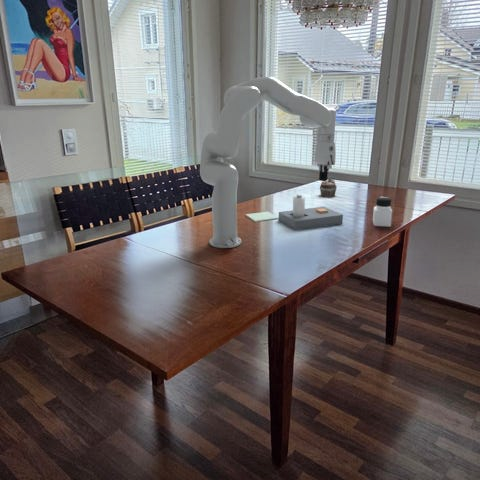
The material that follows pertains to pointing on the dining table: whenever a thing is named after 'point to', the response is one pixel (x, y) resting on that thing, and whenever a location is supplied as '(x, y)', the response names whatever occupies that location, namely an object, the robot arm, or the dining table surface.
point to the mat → (262, 216)
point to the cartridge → (298, 206)
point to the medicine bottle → (382, 212)
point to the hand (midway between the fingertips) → (323, 180)
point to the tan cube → (321, 211)
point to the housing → (310, 218)
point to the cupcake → (328, 188)
